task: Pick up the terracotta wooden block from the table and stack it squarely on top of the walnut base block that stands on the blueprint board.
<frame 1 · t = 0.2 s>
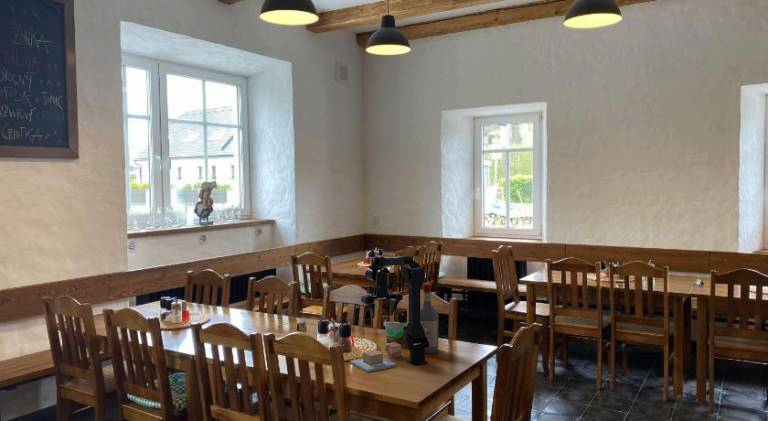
hand: (382, 316, 275), 14 cm above the table, tool pointing down, fingers open, 9 cm apart
food container: (393, 343, 283), on the table
liquor: (427, 350, 271), on the table
terracotta block: (393, 355, 264), on the table
blueprint board: (373, 364, 251), on the table
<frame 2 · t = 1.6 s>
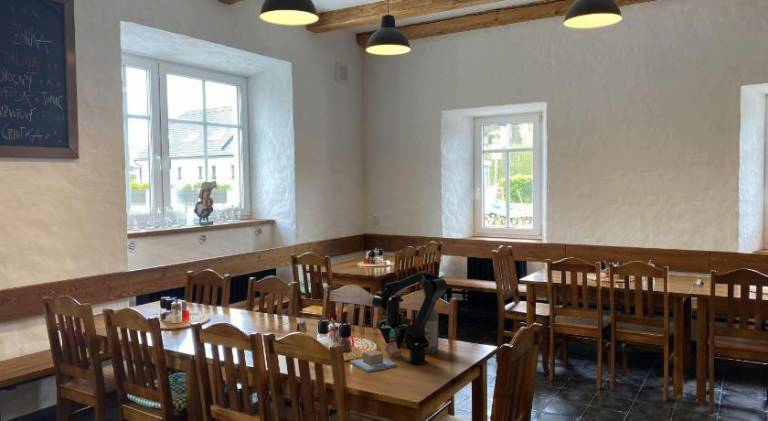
hand: (393, 346, 264), 4 cm above the table, tool pointing down, fingers open, 9 cm apart
nothing on the table moved.
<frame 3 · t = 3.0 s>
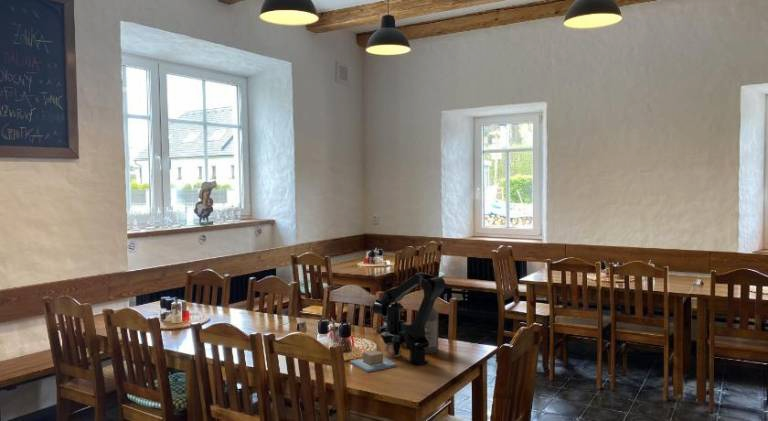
hand: (393, 353, 264), 1 cm above the table, tool pointing down, fingers closed on terracotta block, 5 cm apart
terracotta block: (393, 355, 264), on the table, touching gripper
everything else where it was.
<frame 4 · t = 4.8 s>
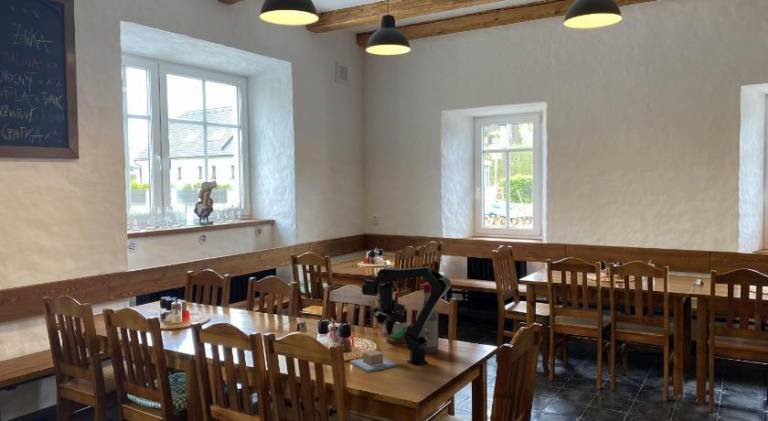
hand: (386, 333, 259), 11 cm above the table, tool pointing down, fingers closed on terracotta block, 5 cm apart
terracotta block: (386, 335, 259), point 10 cm above the table, touching gripper
everything else where it was.
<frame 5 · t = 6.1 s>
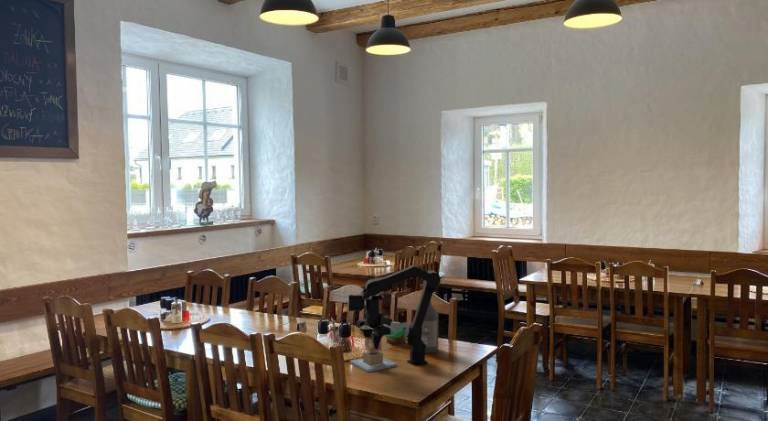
hand: (373, 347, 251), 7 cm above the table, tool pointing down, fingers closed on terracotta block, 5 cm apart
terracotta block: (373, 350, 251), point 6 cm above the table, touching gripper
everything else where it was.
when the fingers open (7 cm above the table, at t = 6.9 s): terracotta block stays where it is, resting on blueprint board.
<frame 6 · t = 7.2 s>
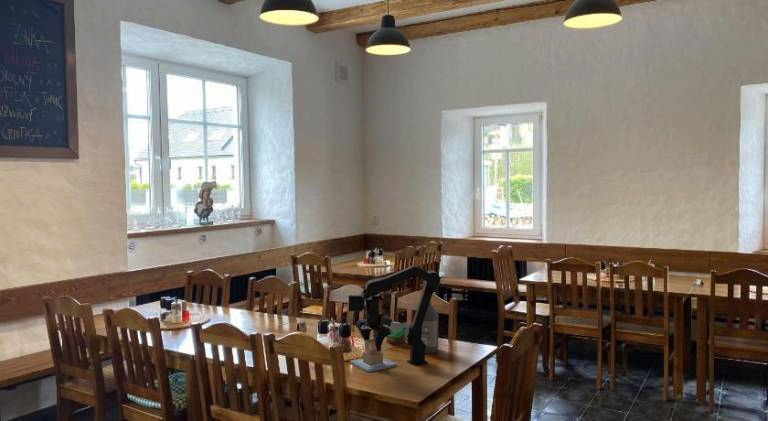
hand: (373, 348, 251), 7 cm above the table, tool pointing down, fingers open, 8 cm apart
terracotta block: (373, 352, 251), point 5 cm above the table, touching blueprint board
everything else where it was.
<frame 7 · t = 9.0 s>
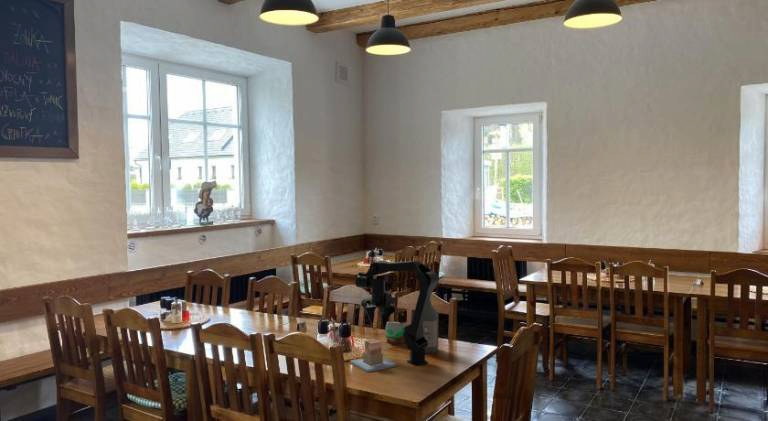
hand: (378, 325, 264), 13 cm above the table, tool pointing down, fingers open, 9 cm apart
nothing on the table moved.
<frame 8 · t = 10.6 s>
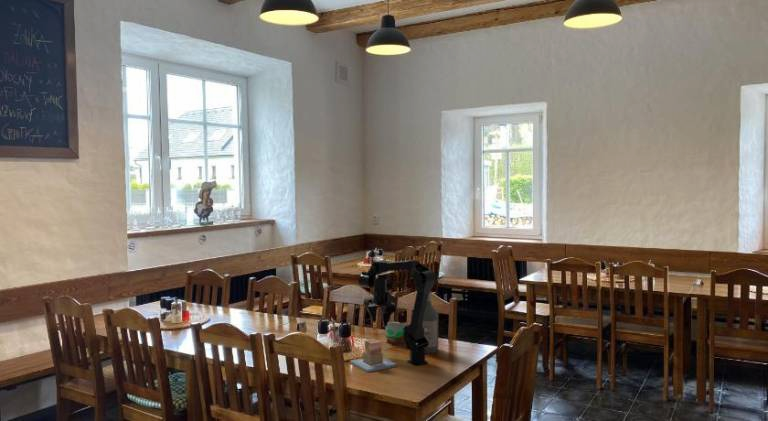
hand: (379, 324, 266), 13 cm above the table, tool pointing down, fingers open, 9 cm apart
nothing on the table moved.
at the end: terracotta block 0.0 cm off-centre on the blueprint board, point 5.0 cm above the blueprint board's base; terracotta block tilted 0°; the gripper is holding nothing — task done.
